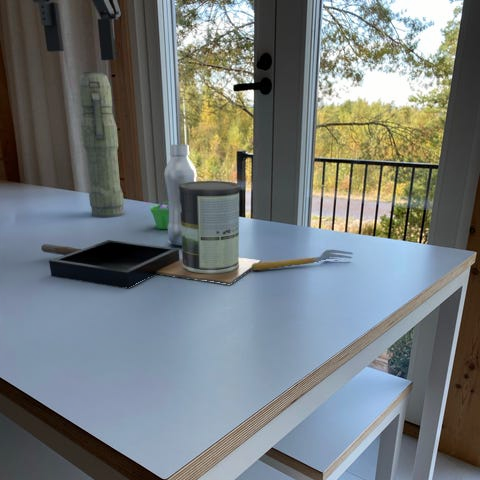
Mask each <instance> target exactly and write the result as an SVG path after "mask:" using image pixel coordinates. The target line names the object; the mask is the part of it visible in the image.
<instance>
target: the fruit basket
mask: <svg viewBox="0 0 480 480" xmlns="http://www.w3.org/2000/svg"><path fill="white" fill-rule="evenodd" d="M166 195H167V196H168V192H167V194H166ZM149 210H150V212H151V213H152V216H153V218H154V222H155V225H156V228H157V229H158V230H168V224H169V201H164V202H161V203H160V204H157V205H154V206H152V207H150V208H149Z"/></svg>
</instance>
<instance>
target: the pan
mask: <svg viewBox="0 0 480 480" xmlns="http://www.w3.org/2000/svg"><path fill="white" fill-rule="evenodd" d="M40 249H41V251H42V252H43V253H45V254H46V253H47V254H53V255H60V256H58V257H55V258H52V259H49V260H48V264H49V270H50V276H51V277H55V276H56V278H61V277H62V278H61V279H67V278H69V279H68V280H73V279H76V280H75V281H79V280H82V282H85V281H87V283H92V282H94V283H93V284H98V285H104V284H105V286H110V285H111V286H110V287H116V286H118V287H117V288H122V287H127V288H126V289H128V288H129V287H131V286H133V285H135V284H136V283H138V282H140V281H142V280H144V279H147V278H148V277H151V276H153V275H155V274H157V273H156V272H157V271H158V270H160V269H162V268H164V267H166V266H168V265H170V264H172V263H174V262H176V261H178V260H180V248H175V247H168V246H160V245H159V246H158V245H151V244H142V243H135V242H129V241H128V242H126V241H120V240H119V241H118V240H111V239H108V240H105V241H101V242H99V243H96V244H93V245H90V246H87V247H85V248H79V247H71V246H64V245H55V244H49V243H44V244H42V245H41V247H40ZM155 276H156V275H155ZM153 277H154V276H153ZM151 278H152V277H151ZM147 280H148V279H147ZM135 286H136V285H135ZM133 287H134V286H133ZM131 288H132V287H131ZM129 289H130V288H129Z"/></svg>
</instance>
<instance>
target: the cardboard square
mask: <svg viewBox="0 0 480 480" xmlns="http://www.w3.org/2000/svg"><path fill="white" fill-rule="evenodd" d="M182 259H183V258H179V260H178V261H176V262H174V263H172V264H170V265H168V266H166V267H164V268H162V269H160V270H158V271H157V272H156V273H157V274H160V275H159V276H163V275H167V276H166V277H169V276H175V277H174V278H176V277H182V278H181V279H183V278H189V279H197V280H207V281H214V282H220V283H226V284H231V283H233V282H234V281H235V280H237V279H238V278H240V277H241V276H243V275H244V274H245V273H247V272H248V271H250V270H251V269H252V264H253V263H259V262H262V260H260V259H254V258H253V259H252V258H245V257H239V266H238V268H236V269H235V270H232V271H229V272H225V273H216V274H203V273H195V272H191V271H188V270H186V269H184V268H183V266H182V264H183V260H182ZM251 271H252V270H251ZM251 271H250V272H251ZM248 273H249V272H248ZM248 273H247V274H248ZM245 275H246V274H245ZM245 275H244V276H245ZM244 276H243V277H244ZM241 278H242V277H241ZM241 278H240V279H241ZM189 279H188V280H189ZM238 280H239V279H238ZM238 280H237V281H238ZM234 283H235V282H234ZM234 283H233V284H234Z"/></svg>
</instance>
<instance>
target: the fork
mask: <svg viewBox="0 0 480 480" xmlns="http://www.w3.org/2000/svg"><path fill="white" fill-rule="evenodd" d="M350 255H354V252H350V251H344V250H339V249H331V248H330V249H329V248H328V249H325V250H324V251H323V252H322V253H321V254H320V255H319V256H315V257H314V256H313V257H303V258H293V259H291V258H290V259H282V260H281V259H280V260H271V261H261V262H259V263H253V264H252V270H251V271H253V270H259V271H264V270H263V269H267V270H271V269H270V268H274V269H279V268H278V267H281V268H286V267H285V266H288V267H293V266H292V265H295V266H300V265H301V264H302V265H309V264H315V263H314V262H317V263H320V262H319V261H321V260H326V259H353V257H352V256H350ZM321 262H322V261H321Z"/></svg>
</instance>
